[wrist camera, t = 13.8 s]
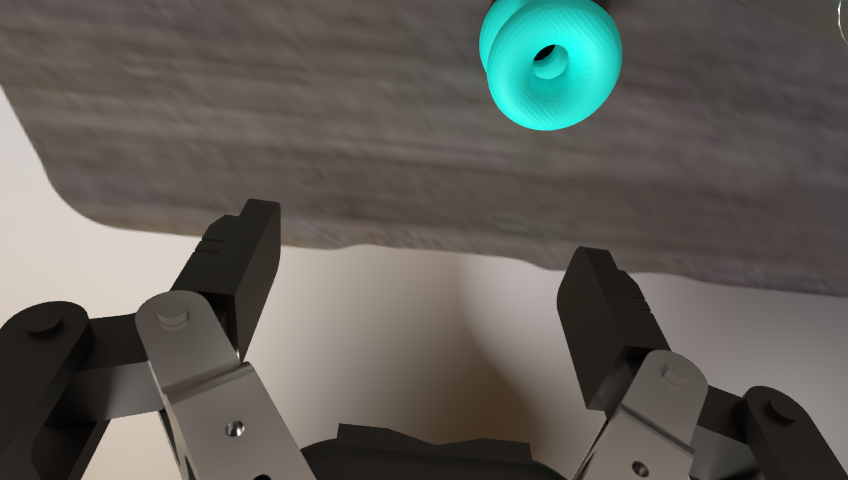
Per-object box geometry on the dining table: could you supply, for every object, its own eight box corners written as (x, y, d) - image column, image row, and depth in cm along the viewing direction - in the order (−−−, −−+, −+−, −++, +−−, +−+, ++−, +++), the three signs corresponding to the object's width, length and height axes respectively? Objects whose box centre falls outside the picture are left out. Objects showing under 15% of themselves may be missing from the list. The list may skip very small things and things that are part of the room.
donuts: (546, 159, 41) (460, 76, 37) (527, 112, 49) (455, 39, 45) (655, 69, 37) (570, -36, 33) (613, 34, 45) (542, -55, 41)
